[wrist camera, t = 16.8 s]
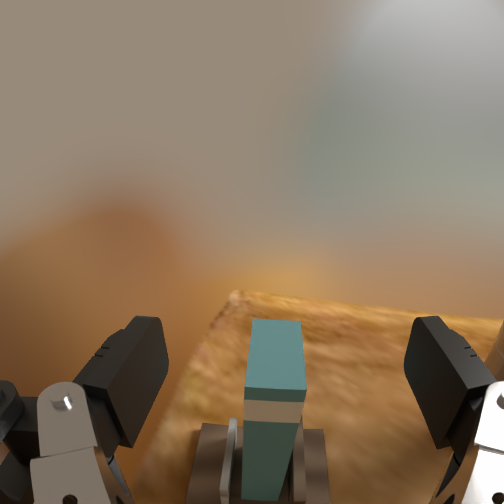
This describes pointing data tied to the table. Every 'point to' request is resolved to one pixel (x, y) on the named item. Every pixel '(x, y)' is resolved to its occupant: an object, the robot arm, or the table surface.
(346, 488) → the table surface
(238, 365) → the table surface
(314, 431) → the book rack
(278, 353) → the book
